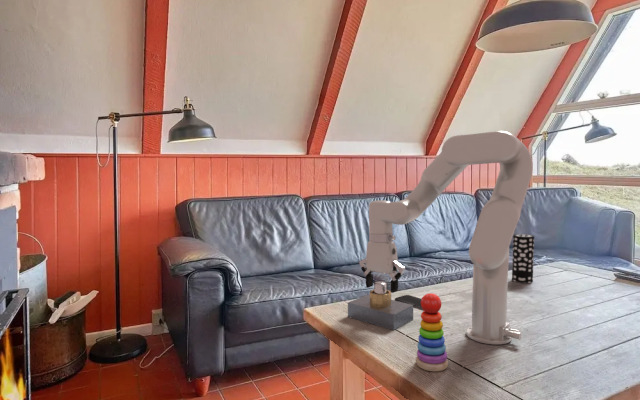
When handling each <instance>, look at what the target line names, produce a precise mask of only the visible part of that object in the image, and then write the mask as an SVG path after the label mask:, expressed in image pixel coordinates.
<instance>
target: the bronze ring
mask: <svg viewBox="0 0 640 400" xmlns="http://www.w3.org/2000/svg"><path fill="white" fill-rule="evenodd" d="M369 295H370V305H372V306H375V307H388V306H391V300H392V293H391V290H390V289H386V294H383V295H380V294H374V289H370V291H369Z"/></svg>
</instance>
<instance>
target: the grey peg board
mask: <svg viewBox="0 0 640 400" xmlns="http://www.w3.org/2000/svg"><path fill="white" fill-rule="evenodd" d="M373 286H374V287H373V288H374V294H380V295H383V294H386V290H387V282H385V281H374V282H373ZM347 317H348V318H350V317H351V318H350V319H353V320H358V321H361V322H364V323H368V324H371V325H374V326H378V327H381V328H385V329H389V330H391V331H395V330H397V329H399V328H401V327H402V326H405V325H406V324H408V323H410V322H412V321H413V320H414V307H413V305H411V304H407V303H403V302H399V301H395V299H394V300H393V299H391V306H388V307H375V306H372V305H370V293H369V294H366V295H363V296H361V297H359V298H358V297H357V298H356V299H353V300H351V301H348V302H347Z"/></svg>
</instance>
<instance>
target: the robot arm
mask: <svg viewBox="0 0 640 400" xmlns="http://www.w3.org/2000/svg"><path fill="white" fill-rule="evenodd" d="M497 163H498V164H499V172H498V176H497V178H496V182H495V185H494V188H493V191H492V193H491V196H490V198H489V200H488V201H487V202H486V203H485V204H484V205H483V207H482V208H481V210H480V213H479V216H478V219H477V223H476V225H475V229H474V232H473V235H472V238H471V239H470V244H469V246H468V247H469V248H468V255H469V259H470V261H471V263H472V264H473V268H472V294H471V295H472V300H471V301H472V303H471V305H472V307H471V326H469V327H467V328H466V329H465V334H466V336H467V337H468V338H469V339H471V340H473V341H475V342H477V343H481V344H484V345H485V344H486V345H497V346H499V345H505V344H508V343H510V342H512V339H515V340H521V339H522V332H520V330H519V329H513V328H511V327H510V322H507V314H508V313H507V310H508V307H507V306H508V284H509V283H508V281H509V279H508V278H509V261H510V245H511V243H512V241H513V235H514V234H515V232H516V231H515V230H516V228H517V226H518V223H519V220H520V218H521V213H522V208H523V205H524V202H525V198H526V195H527V192H528V189H529V185H530V182H531V180H532V175H533V171H534V170H533V166H534V163H533V158H532V156H531V152H530V151H529V148H528V147H527V146H526V145H525V144H524V143H523V142H522V140H520V139H519V138H518V137H516V136H515V135H514V134H512V133H511V132H508V131H506V130H505V131H504V130H496V131H489V132H479V133H477V132H476V133H470V134H459V135H457V134H456V135H454V136H451V137H449V138H447V139H446V141H444V143H443V145H442V147H441V152H440V153H439V154H438V155H437V156H436V157H435V158H434V159H433V160H432V161H431V162H430V164H428V166H427V167H426V168H424V170H423V172H422V174H421V176H420V181H419V182H418V184H417V185H416V187H414V189H412V191H411V192H410V193H409V194H408V195H407V196H406V197H405V198H404V199H401V200H398V201H397V200H396V201H389V200H385V199H383V200H381V199H380V200H373V201H370V202H369V204H368V222H369V223H368V224H369V226H368V229H369V231H368V232H369V241H368V242H367V246H366V255H365V257H366V258H364V259H362V260H359V261H358V262H359V266H360V267H361V271H362V272H363V276H365V288H372V287H373V286H374V275H373V274H372V273H378V274H384V275H389V277H390V278H391V280H390V291H391V294H393V293H396V292H398V289H399V280H400V279H401V277H402V276H403V274H404V272H405V271H406V267H405V266H404V265H402V264H401V263H400V262H399V261H398V260H399V259H398V252H397V246H396V243H395V242H394V241H395V240H396V236H395V235H394V234H393V225H398V226H399V225H400V226H402V225H406V224H409V223H411V222H413V221H415V220H416V219H418V218H419V217H420V216H421V215H422V214H423V213H424V212H425V211H426V210H427V209H428V208H429V207H430V206H431V205H432V204H433V203H434V202H435V201H436V199H437V198H438V197H439V196H440V195H441V194H442V193H444V191H445V190H446V189H447V188H448V186H450V185H451V184H452V182H453V181H454V180H455V179H456V178H457V177H458V176H459V175H460V174H461V173H463V172H464V170H465V169H466V168H467V167H468V166H471V165H472V166H474V165H484V164H497Z"/></svg>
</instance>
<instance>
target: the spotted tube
mask: <svg viewBox="0 0 640 400" xmlns="http://www.w3.org/2000/svg"><path fill="white" fill-rule="evenodd" d="M534 253H535V235H534V234H533V235H532V234H525V233H524V234H522V233H517V234H515V233H514V234H513V237H512V259H511V260H512V261H511V262H512V263H511V264H512V266H511V281H513V282H515V283H520V284H531V283H533V281H534V257H535V256H534V255H535V254H534Z"/></svg>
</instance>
